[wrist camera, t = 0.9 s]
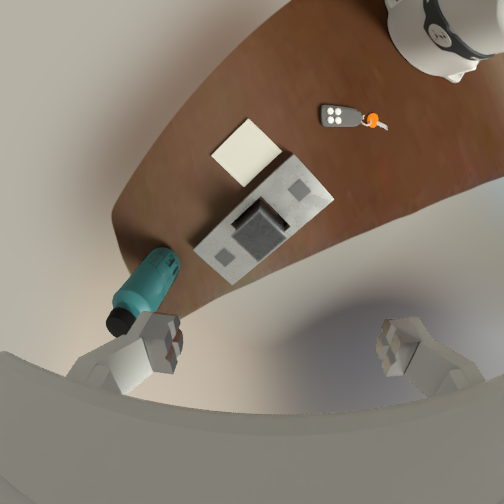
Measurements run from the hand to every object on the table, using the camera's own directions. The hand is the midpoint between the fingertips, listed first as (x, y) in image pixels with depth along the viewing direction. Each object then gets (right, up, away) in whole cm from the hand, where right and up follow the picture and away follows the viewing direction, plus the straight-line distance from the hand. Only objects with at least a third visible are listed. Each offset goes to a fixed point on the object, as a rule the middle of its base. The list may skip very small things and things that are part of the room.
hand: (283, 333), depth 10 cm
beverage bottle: (-16, +2, +38) cm, 41 cm away
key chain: (+15, +23, +26) cm, 38 cm away
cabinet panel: (0, +8, +34) cm, 35 cm away
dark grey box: (0, +8, +34) cm, 35 cm away
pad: (-2, +18, +29) cm, 34 cm away
